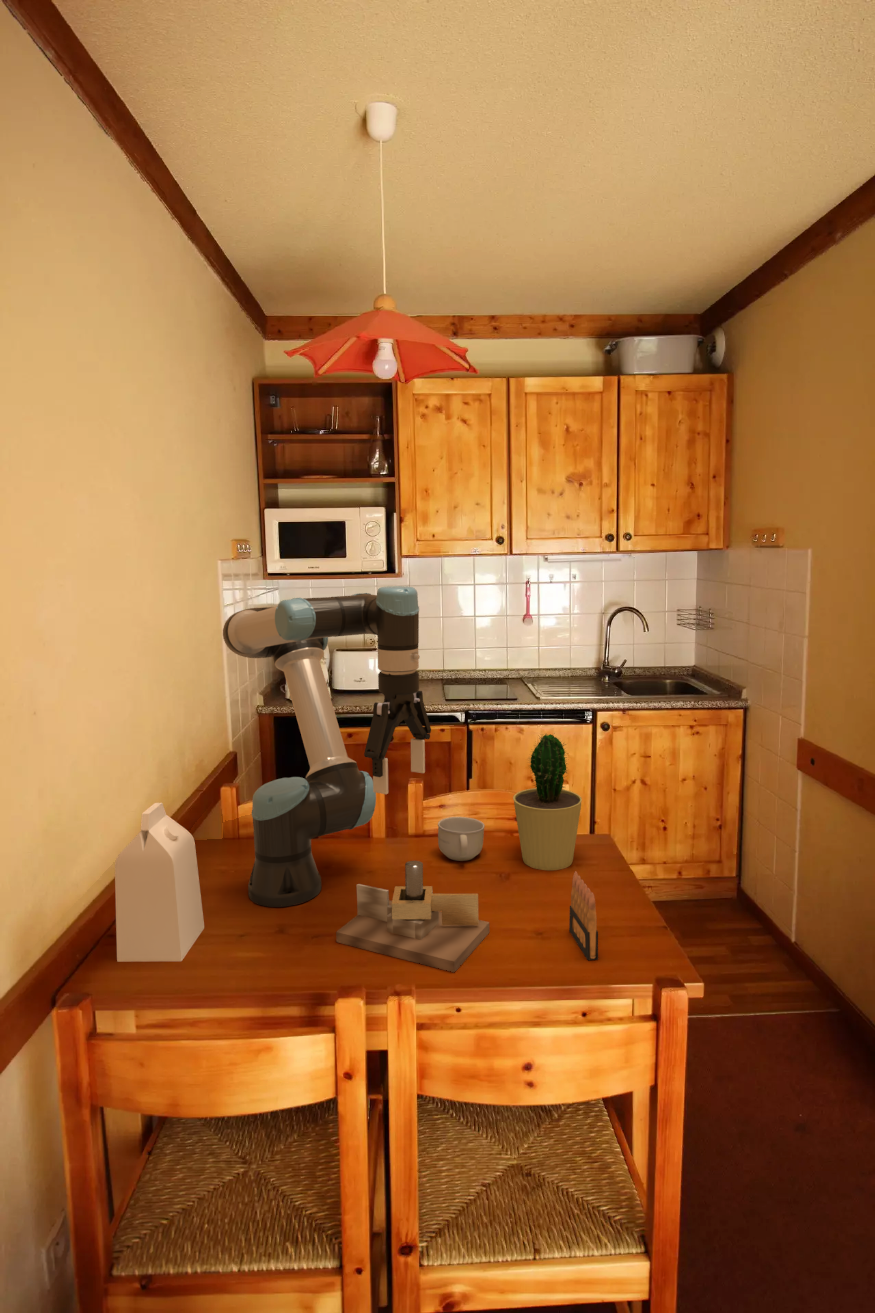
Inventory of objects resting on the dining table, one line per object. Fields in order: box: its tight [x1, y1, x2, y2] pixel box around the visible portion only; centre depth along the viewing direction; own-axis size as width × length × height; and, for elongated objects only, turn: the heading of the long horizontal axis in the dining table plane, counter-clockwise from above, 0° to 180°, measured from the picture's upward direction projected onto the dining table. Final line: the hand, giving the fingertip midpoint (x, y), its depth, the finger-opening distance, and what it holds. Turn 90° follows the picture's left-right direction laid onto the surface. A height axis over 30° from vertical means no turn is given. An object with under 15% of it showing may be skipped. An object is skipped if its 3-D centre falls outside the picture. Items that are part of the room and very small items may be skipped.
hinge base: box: [335, 883, 490, 973], centre depth 139 cm, size 24×15×8 cm, turn 63°
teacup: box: [437, 816, 485, 862], centre depth 174 cm, size 14×11×8 cm
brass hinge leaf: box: [391, 885, 479, 925], centre depth 139 cm, size 16×7×6 cm, turn 88°
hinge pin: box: [404, 860, 424, 920], centre depth 139 cm, size 3×3×12 cm
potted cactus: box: [512, 731, 583, 871], centre depth 171 cm, size 15×15×30 cm
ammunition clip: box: [568, 870, 599, 961], centre depth 135 cm, size 11×2×12 cm, turn 8°
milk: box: [114, 802, 205, 963], centre depth 137 cm, size 12×12×26 cm
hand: (400, 782), depth 142 cm, fingers open, 13 cm apart
